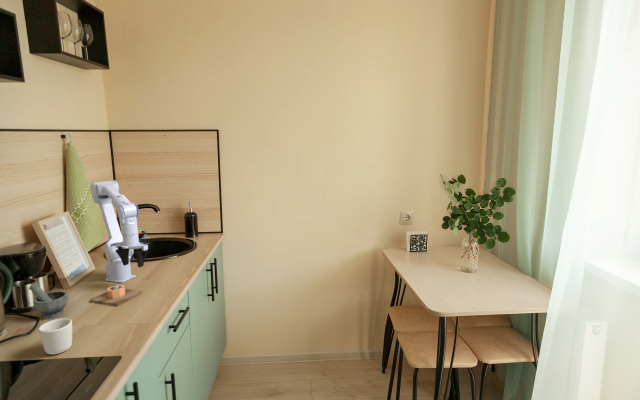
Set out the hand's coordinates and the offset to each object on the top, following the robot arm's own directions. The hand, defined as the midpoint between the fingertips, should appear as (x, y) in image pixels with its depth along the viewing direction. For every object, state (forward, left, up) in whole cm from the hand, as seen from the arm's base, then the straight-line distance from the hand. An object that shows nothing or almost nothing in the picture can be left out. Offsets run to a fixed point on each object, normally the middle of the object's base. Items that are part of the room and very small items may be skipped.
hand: (133, 265), depth 152 cm
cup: (+13, -42, -10) cm, 45 cm away
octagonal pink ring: (0, -10, -8) cm, 13 cm away
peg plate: (0, -10, -9) cm, 14 cm away
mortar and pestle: (-10, -28, -10) cm, 31 cm away
